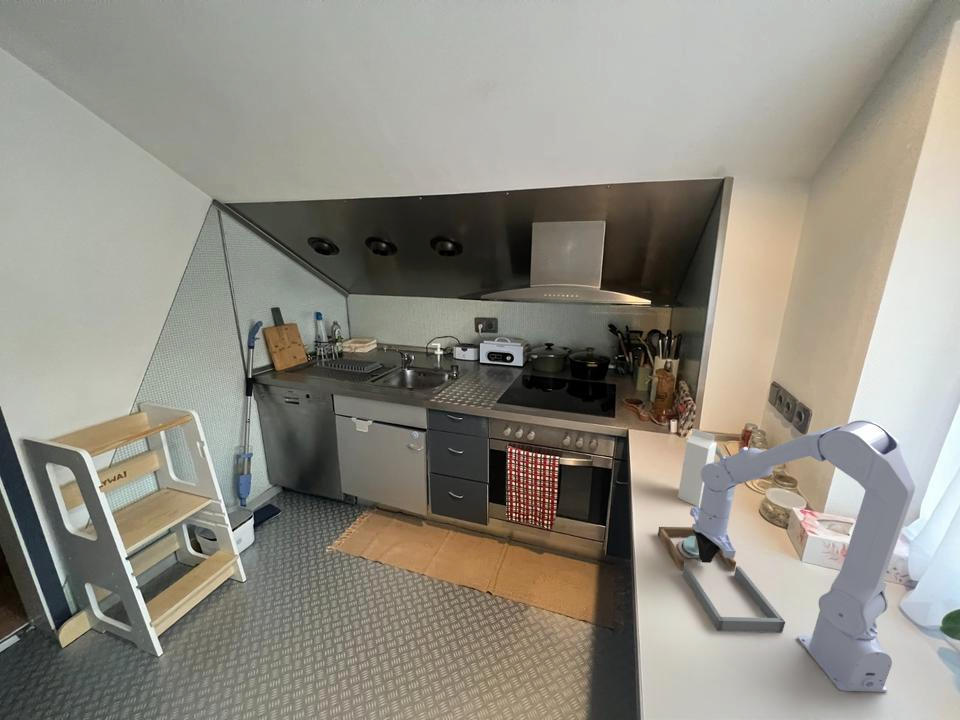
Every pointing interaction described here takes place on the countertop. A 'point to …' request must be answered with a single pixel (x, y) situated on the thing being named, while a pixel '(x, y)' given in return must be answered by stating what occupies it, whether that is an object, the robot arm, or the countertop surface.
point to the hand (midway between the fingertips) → (705, 560)
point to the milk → (696, 465)
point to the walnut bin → (684, 533)
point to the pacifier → (689, 547)
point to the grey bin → (738, 623)
